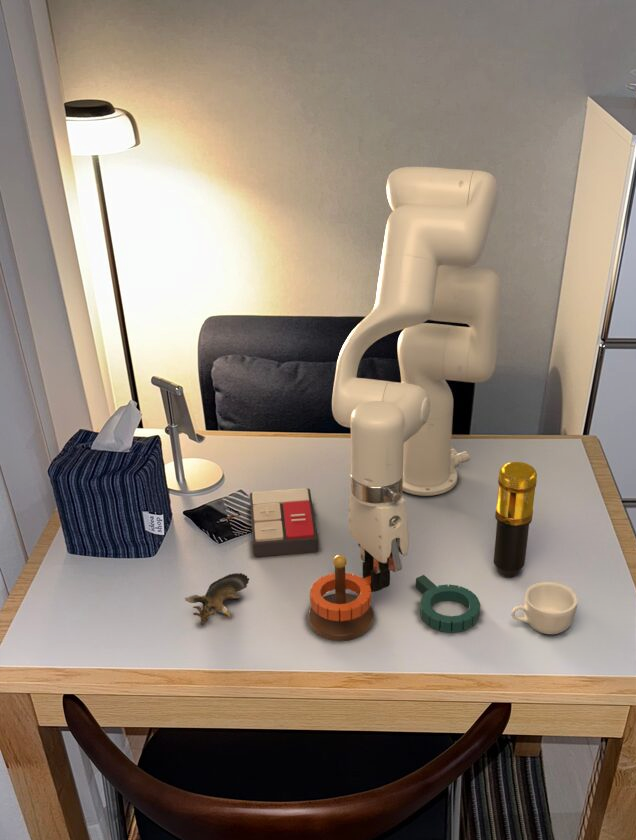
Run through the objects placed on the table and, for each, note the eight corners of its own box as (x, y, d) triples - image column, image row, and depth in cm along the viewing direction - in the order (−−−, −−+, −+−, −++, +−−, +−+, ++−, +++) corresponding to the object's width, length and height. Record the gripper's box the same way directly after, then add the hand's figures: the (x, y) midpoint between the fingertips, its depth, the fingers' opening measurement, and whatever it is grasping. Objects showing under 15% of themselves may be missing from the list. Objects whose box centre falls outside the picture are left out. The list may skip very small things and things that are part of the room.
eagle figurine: (231, 631, 137) (260, 588, 143) (202, 598, 134) (232, 556, 140) (201, 636, 142) (230, 595, 148) (172, 604, 140) (203, 564, 145)
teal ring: (491, 618, 141) (492, 608, 140) (443, 640, 137) (444, 630, 136) (442, 576, 150) (442, 566, 149) (396, 595, 146) (396, 586, 145)
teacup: (562, 605, 143) (566, 578, 141) (581, 637, 137) (586, 610, 134) (501, 613, 142) (504, 586, 139) (518, 646, 135) (521, 619, 133)
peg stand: (351, 590, 147) (350, 529, 140) (385, 625, 140) (386, 562, 133) (297, 613, 142) (293, 550, 136) (330, 650, 135) (328, 585, 129)
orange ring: (330, 629, 133) (330, 618, 132) (299, 595, 140) (299, 585, 139) (400, 599, 139) (401, 588, 138) (368, 568, 146) (368, 558, 145)
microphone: (571, 570, 151) (586, 467, 140) (499, 586, 148) (509, 482, 137) (554, 550, 156) (568, 449, 145) (484, 565, 152) (493, 463, 142)
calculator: (252, 540, 152) (249, 488, 165) (254, 560, 155) (250, 507, 167) (317, 535, 154) (309, 484, 166) (318, 554, 156) (310, 503, 168)
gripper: (429, 501, 128) (425, 603, 138) (369, 454, 139) (368, 551, 149) (385, 517, 125) (384, 621, 134) (327, 468, 136) (329, 567, 145)
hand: (376, 584), depth 142 cm, fingers closed on orange ring
